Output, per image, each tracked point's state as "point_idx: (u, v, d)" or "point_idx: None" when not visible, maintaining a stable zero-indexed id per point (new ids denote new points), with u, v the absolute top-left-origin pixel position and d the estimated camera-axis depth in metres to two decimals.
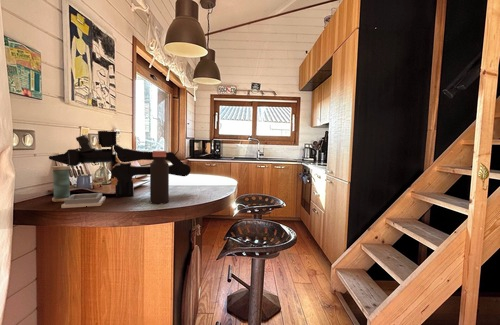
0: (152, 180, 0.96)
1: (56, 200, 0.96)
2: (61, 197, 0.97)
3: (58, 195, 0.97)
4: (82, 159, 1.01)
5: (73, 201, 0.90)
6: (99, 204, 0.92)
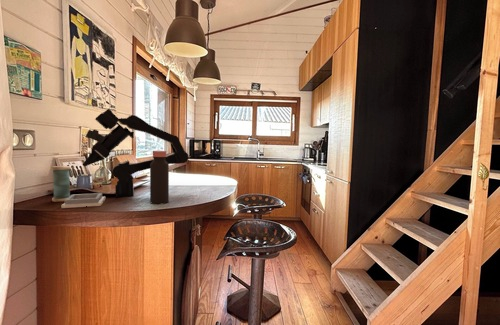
0: (152, 180, 0.96)
1: (56, 200, 0.96)
2: (61, 197, 0.97)
3: (58, 195, 0.97)
4: (107, 149, 1.03)
5: (73, 201, 0.90)
6: (99, 204, 0.92)
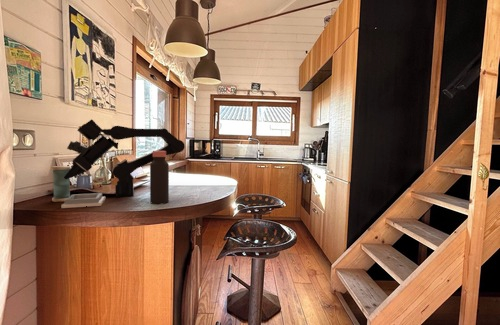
0: (152, 180, 0.96)
1: (56, 200, 0.96)
2: (61, 197, 0.97)
3: (58, 195, 0.97)
4: (89, 160, 1.01)
5: (73, 201, 0.90)
6: (99, 204, 0.92)
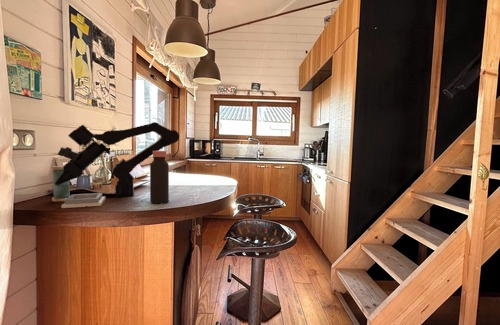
0: (152, 180, 0.96)
1: (56, 200, 0.96)
2: (61, 197, 0.97)
3: (58, 195, 0.97)
4: (81, 166, 0.99)
5: (73, 201, 0.90)
6: (99, 204, 0.92)
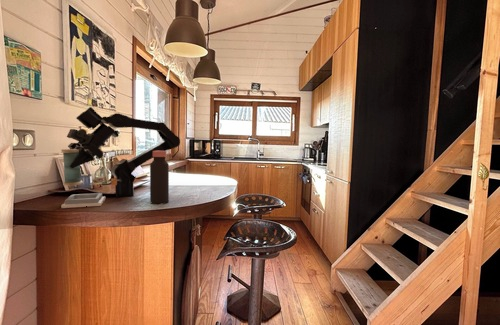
0: (152, 180, 0.96)
1: (71, 184, 0.93)
2: (75, 181, 0.94)
3: (73, 178, 0.94)
4: None
5: (73, 201, 0.90)
6: (99, 204, 0.92)
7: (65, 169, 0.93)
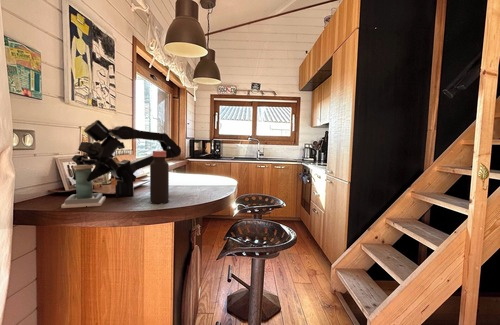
0: (152, 180, 0.96)
1: None
2: (89, 197, 0.94)
3: (87, 195, 0.94)
4: None
5: (73, 201, 0.90)
6: (99, 204, 0.92)
7: (79, 186, 0.92)
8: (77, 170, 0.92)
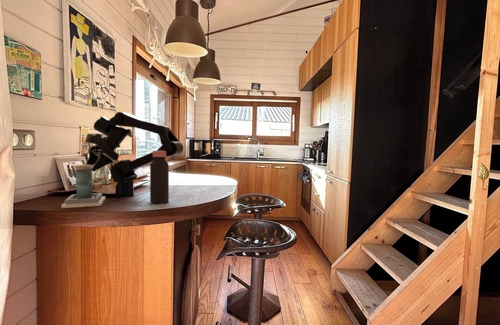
0: (152, 180, 0.96)
1: None
2: (89, 197, 0.94)
3: (87, 195, 0.94)
4: None
5: (73, 201, 0.90)
6: (99, 204, 0.92)
7: (79, 186, 0.92)
8: (77, 170, 0.92)
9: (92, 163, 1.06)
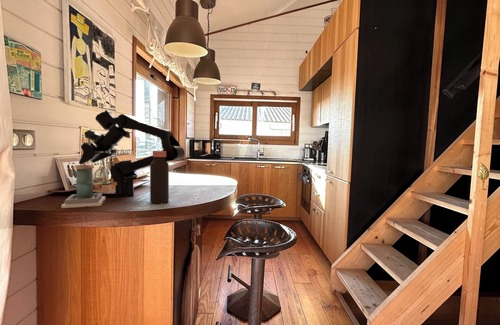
0: (152, 180, 0.96)
1: None
2: (90, 196, 0.94)
3: (87, 194, 0.94)
4: (102, 148, 1.07)
5: (73, 201, 0.90)
6: (99, 204, 0.92)
7: (79, 185, 0.92)
8: (78, 170, 0.92)
9: (99, 158, 1.14)
